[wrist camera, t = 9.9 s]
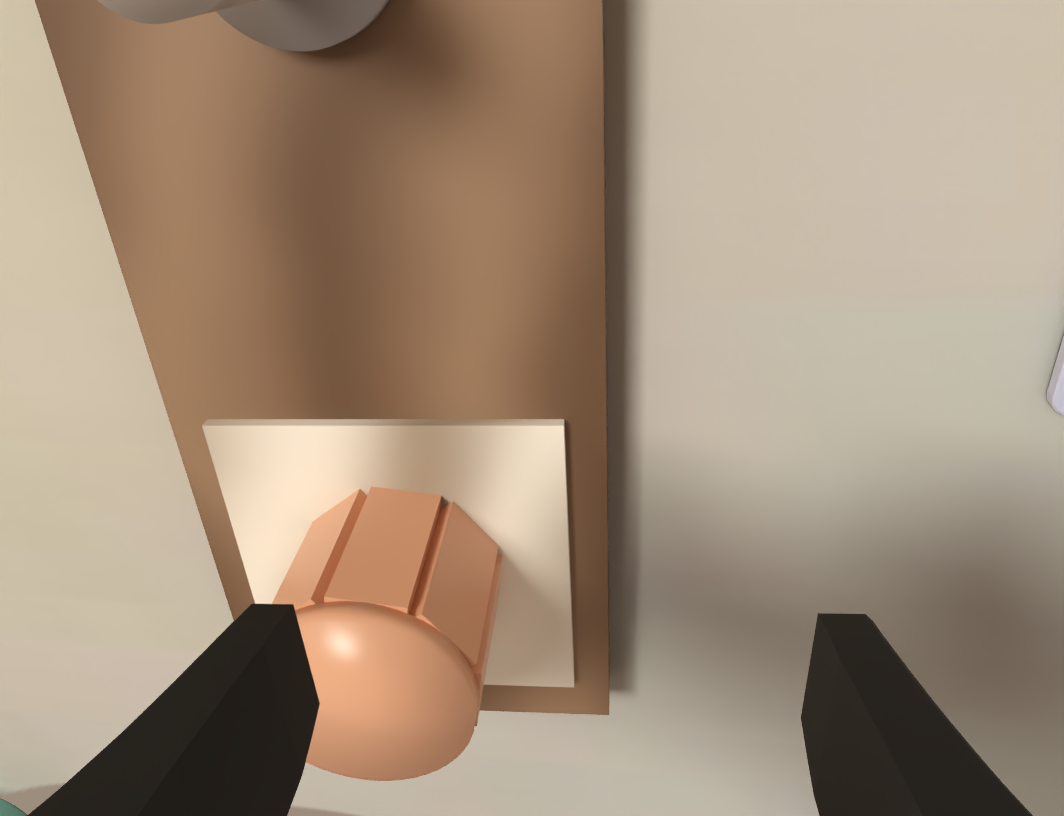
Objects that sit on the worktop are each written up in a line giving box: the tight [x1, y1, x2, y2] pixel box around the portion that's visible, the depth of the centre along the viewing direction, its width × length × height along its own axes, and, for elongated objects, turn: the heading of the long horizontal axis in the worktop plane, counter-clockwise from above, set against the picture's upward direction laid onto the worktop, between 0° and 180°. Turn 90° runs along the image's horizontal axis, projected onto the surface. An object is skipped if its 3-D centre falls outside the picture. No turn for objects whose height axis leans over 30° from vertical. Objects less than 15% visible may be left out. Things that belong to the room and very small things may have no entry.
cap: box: [272, 486, 502, 781], centre depth 21 cm, size 5×5×5 cm
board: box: [35, 0, 609, 715], centre depth 17 cm, size 11×28×8 cm, turn 3°
